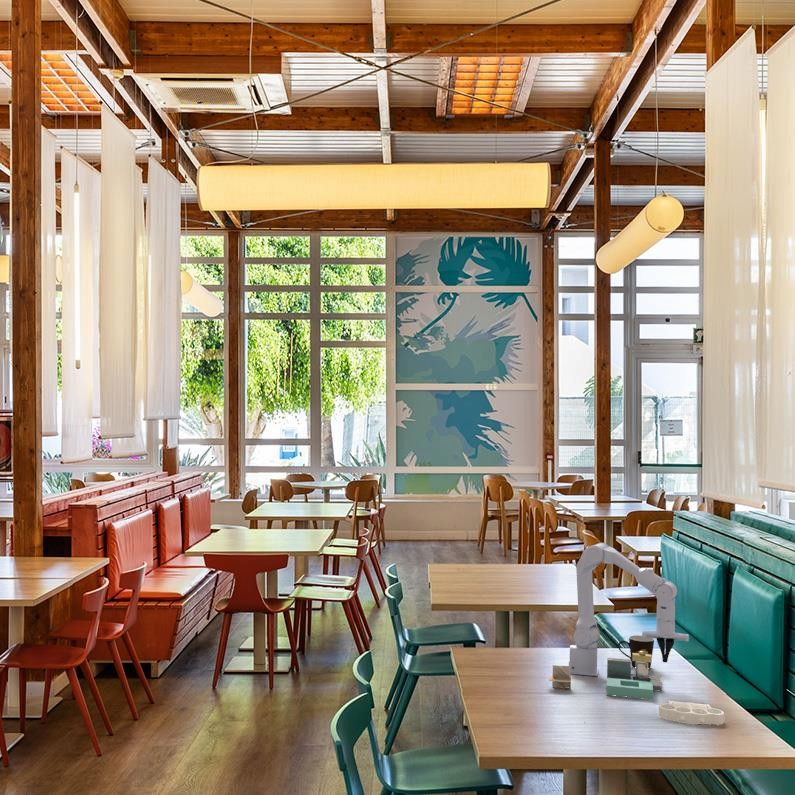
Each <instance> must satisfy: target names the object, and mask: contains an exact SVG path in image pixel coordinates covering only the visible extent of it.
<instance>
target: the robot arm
mask: <svg viewBox="0 0 795 795" xmlns="http://www.w3.org/2000/svg"><path fill="white" fill-rule="evenodd" d="M602 563H603V564H605V565H606V564H610V565H611V564H612V565H616V566H617V567H619V568H621V569H622V570H624V571H625V572H627V573H629V574H630V575H632V576H634V577H635V578H634V579H635V580H636V583H637V584H639V585H640V586H641V587H644V588H645V589H646V590H648V591H649V592H650V593H651V594H654V596H655V597H656V602H657V604H656V630H641V631H642V632H641V636H642V638H654V639H656V642H657V645H658V647H659V650H660V653H661V657H662V658H661V659H662V662H663V663H668V660H669V655H670V652H671V651H672V648H673V646H674V644H675V641H683V642H684V641H685V642H688V643H690V642H689V641H690V635H689V634H688V633H680V632H676V630H675V629H676V626H675V625H676V606H675V605H676V598H675V597H676V596H677V595H678V588H677V586H676V584H674V583H673V581H672V580H671V581H670V580H666V578H665V577H661V576H659V575H657V573H655V572H654V570H653V569H652V568H650V567H649V568H647V567H643V568H641V567H639V566H638V565H637V564H635V563H633V561H631V560H630V559H629V558H628V557H626V556H624V555H623V554H622V553H620V552H619V551H618V550H617V549H615V548H614V547H612V546H609V545H608V544H607V543H604V542H599V543H598V542H597V543H596V544H593V545H590V546H587V548H586V549H584V550H583V551H582V554H581V556H580V558H579V560H578V562H577V564H576V566H575V568H576V589H577V590H576V591H577V593H576V594H577V609H578V610H577V613H578V616H577V617H578V619H577V621H576V623H575V631H574V634H573V640H574V643H575V644H570V645H569V661H568V666H570V675H581V676H592V677H599V668H598V643H597V641H599V639H600V637H601V636H600V635H601V634H600V633H601V632H600V630H599V627H598V624H597V623H598V622H597V620H596V618H595V610H594V609H595V608H594V584H593V582H594V581H593V570H595V569H596V568H597V567H598V566H599V565H600V564H602Z"/></svg>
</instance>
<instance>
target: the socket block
mask: <svg viewBox="0 0 795 795" xmlns="http://www.w3.org/2000/svg"><path fill="white" fill-rule="evenodd" d="M606 665H607V666H606V669H607V670H606V679H607V678H616V679H627V680H635V673H631V672H632V664H631V660H630V658H629V659H628V658H627V659H626V658H615V657H607V662H606ZM648 681H649V682H652V685H653V690H660V691H659V692H662V691H663V690H662V681H661V676H660V675H650V674H648Z"/></svg>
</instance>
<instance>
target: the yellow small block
mask: <svg viewBox="0 0 795 795" xmlns="http://www.w3.org/2000/svg"><path fill="white" fill-rule="evenodd" d="M632 660H633V661H639V662H651V664H652V660H653V654H652V655H651V654H645V651H639V653H633V655H632Z"/></svg>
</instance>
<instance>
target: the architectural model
mask: <svg viewBox="0 0 795 795" xmlns="http://www.w3.org/2000/svg"><path fill="white" fill-rule="evenodd" d="M571 675H572V674H570V666H569V665H558V664H557V665H555V664H554V665H552V676H548V681H549V682H552V686H551V687H552V688H557V687H562V689H563V690H566V688H565V687H569V688H568V689H569V690H570V689H571V690H572V676H571Z"/></svg>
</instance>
